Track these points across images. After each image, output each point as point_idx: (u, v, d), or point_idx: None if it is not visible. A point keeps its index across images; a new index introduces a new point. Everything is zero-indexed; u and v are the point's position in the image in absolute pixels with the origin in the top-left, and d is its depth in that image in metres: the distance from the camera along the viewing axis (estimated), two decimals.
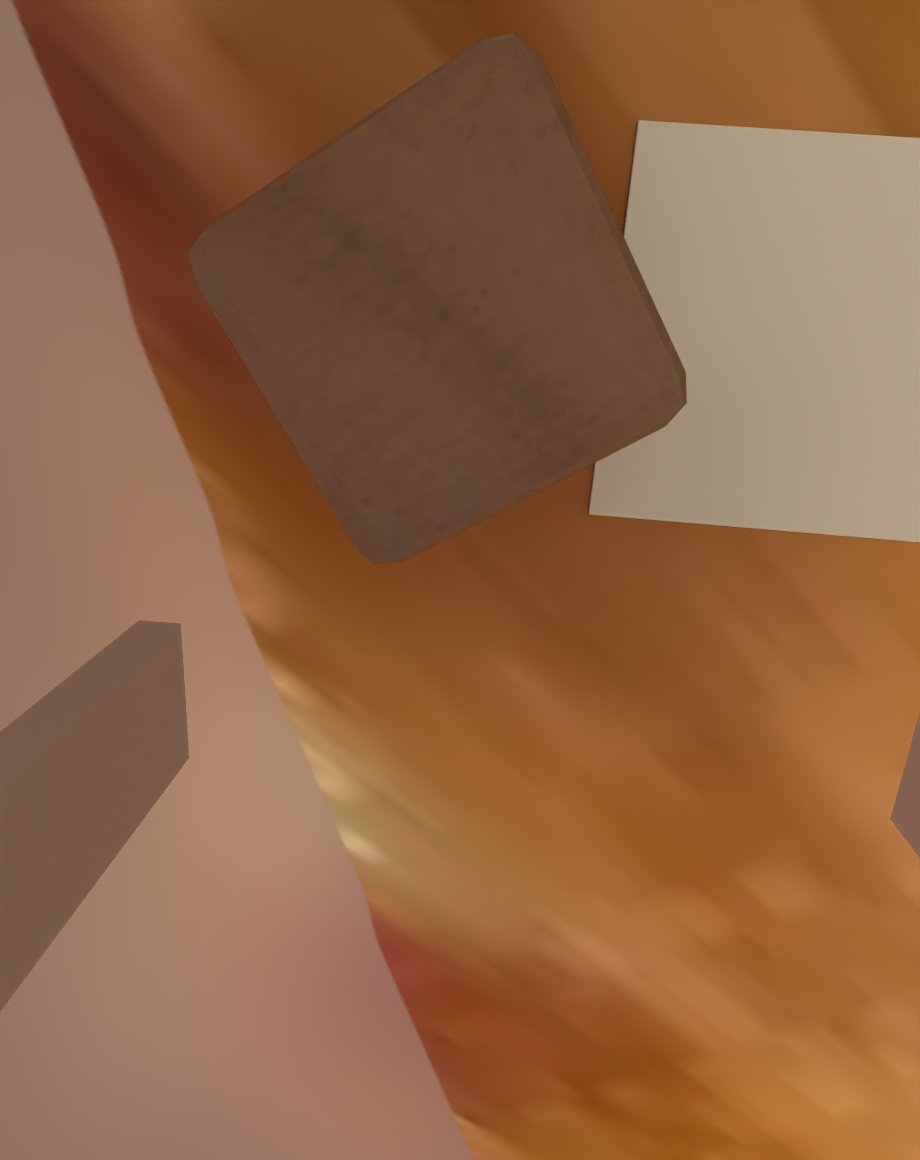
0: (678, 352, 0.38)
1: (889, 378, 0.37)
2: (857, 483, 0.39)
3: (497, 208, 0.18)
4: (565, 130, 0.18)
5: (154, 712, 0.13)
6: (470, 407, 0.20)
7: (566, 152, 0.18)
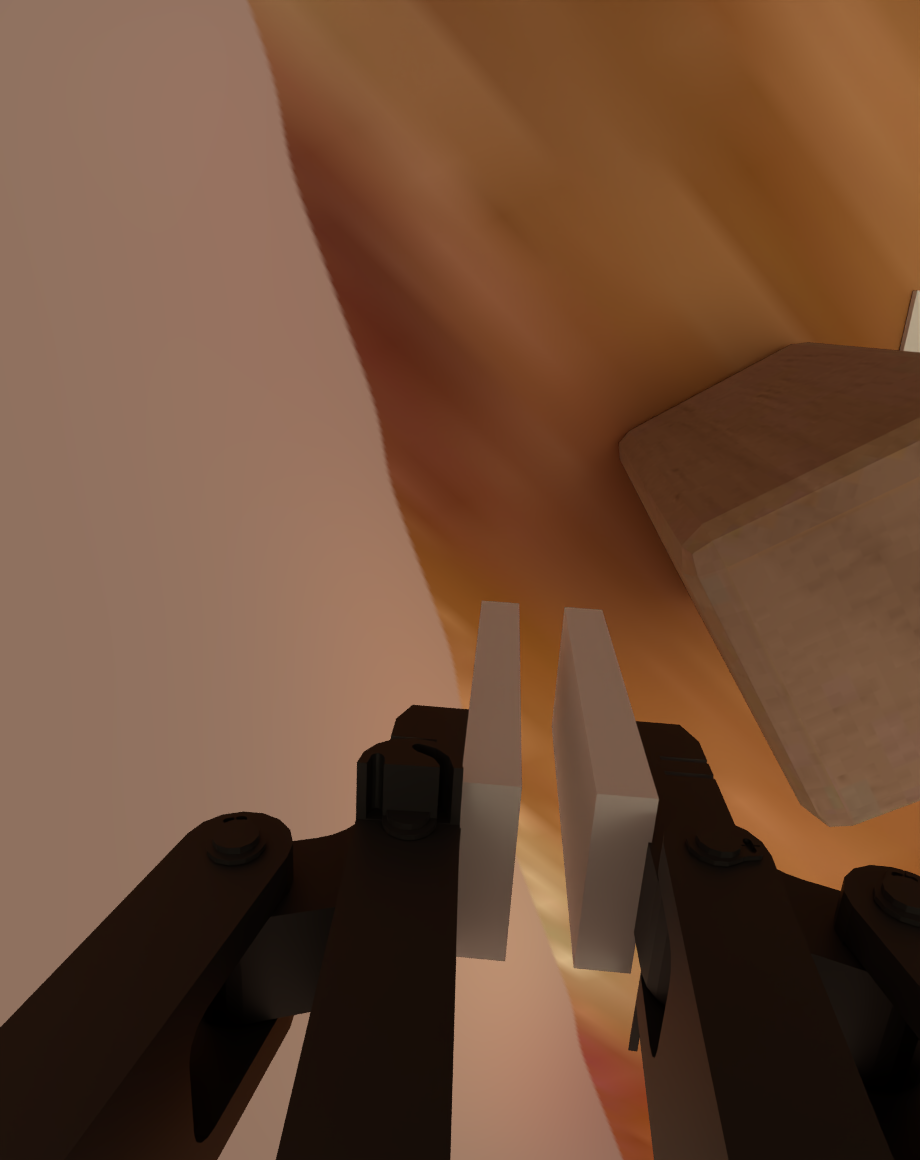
0: None
1: None
2: None
3: None
4: None
5: None
6: None
7: None
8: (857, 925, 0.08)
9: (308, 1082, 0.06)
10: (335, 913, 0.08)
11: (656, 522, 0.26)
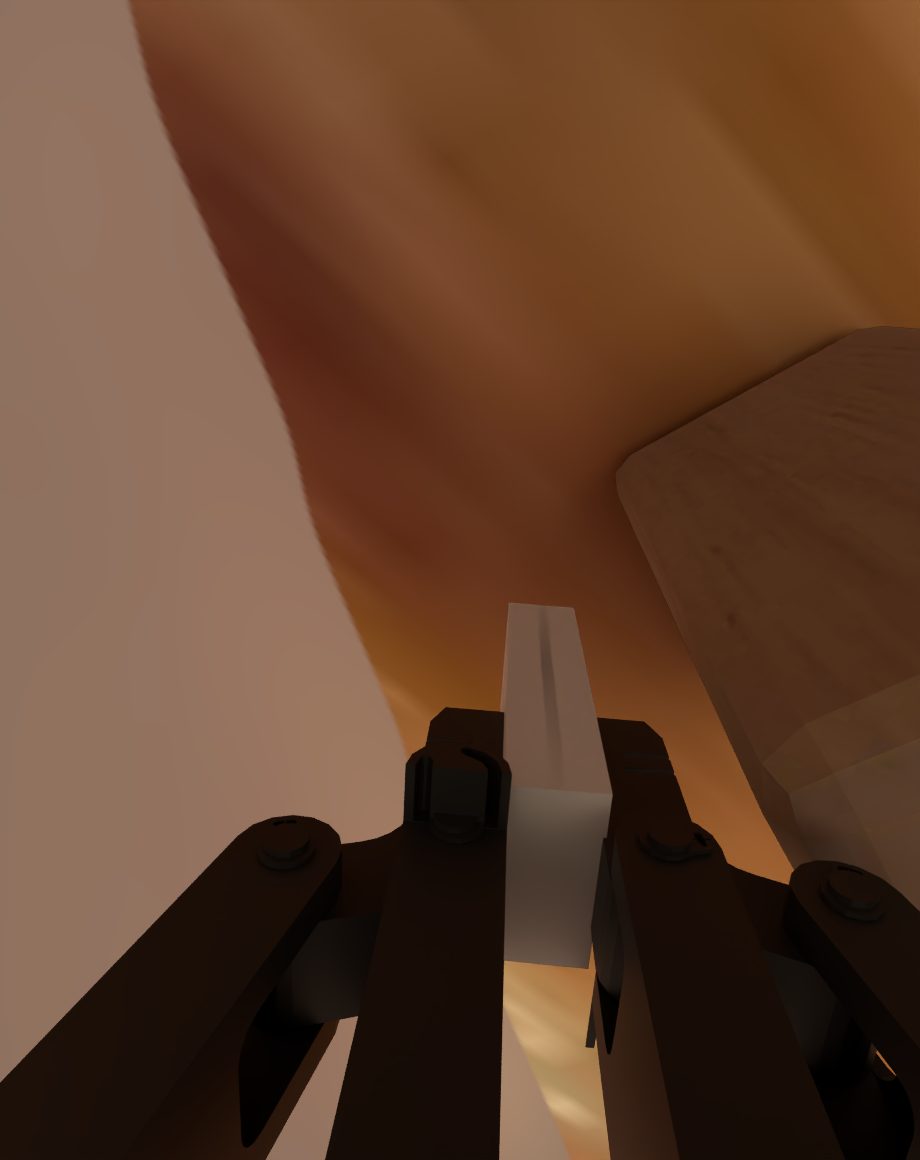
0: None
1: None
2: None
3: None
4: None
5: None
6: None
7: None
8: (804, 922, 0.08)
9: (357, 1083, 0.06)
10: (383, 916, 0.08)
11: (688, 646, 0.15)
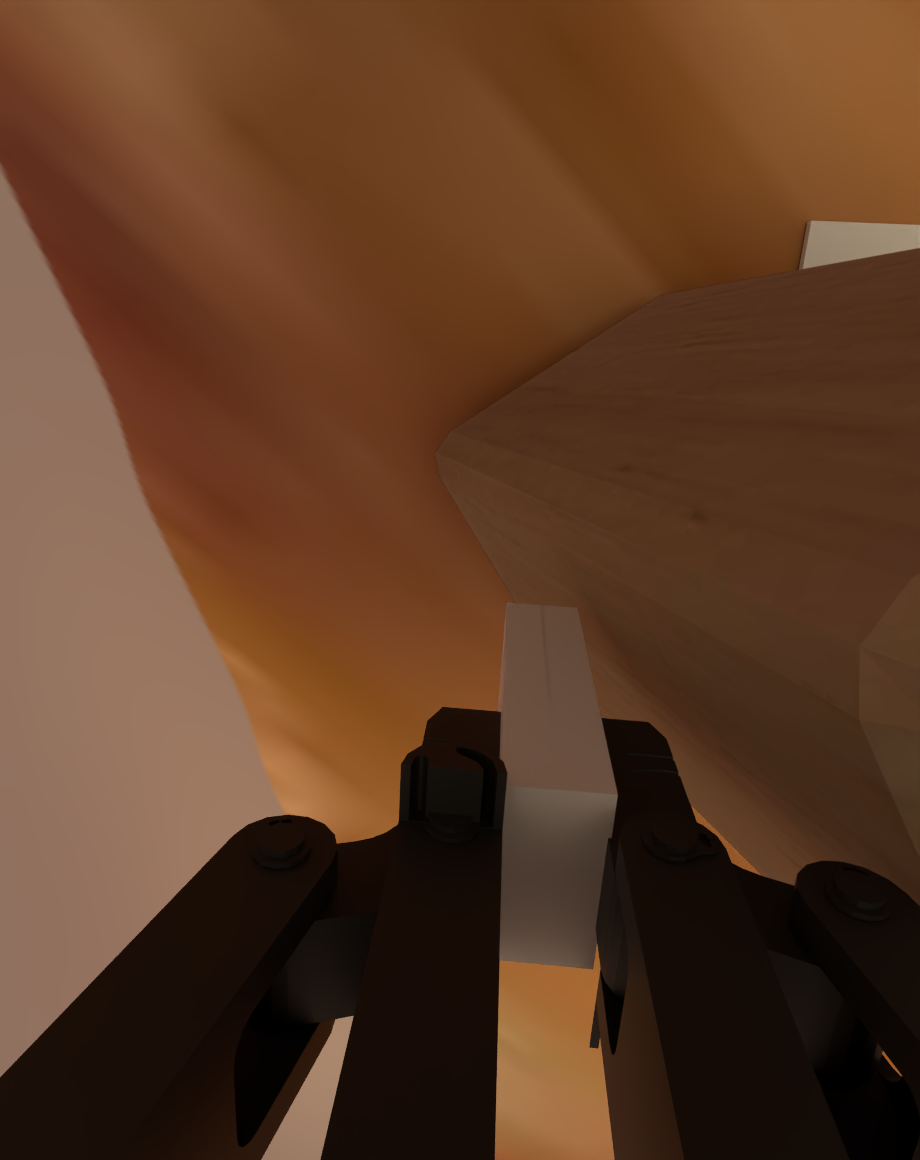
0: None
1: None
2: None
3: None
4: None
5: None
6: None
7: None
8: (810, 922, 0.08)
9: (352, 1083, 0.06)
10: (378, 916, 0.08)
11: (623, 576, 0.12)
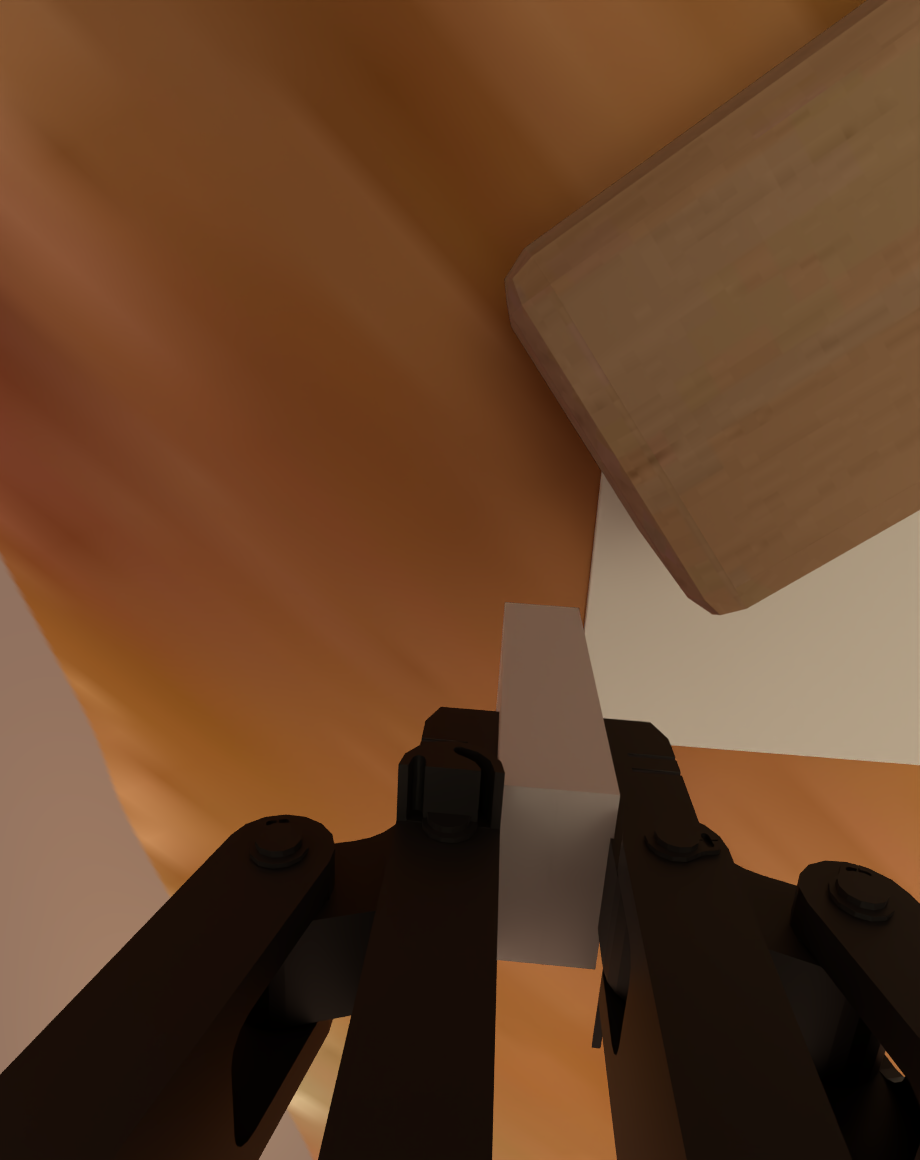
0: None
1: None
2: None
3: None
4: None
5: None
6: None
7: None
8: (812, 922, 0.08)
9: (349, 1083, 0.06)
10: (376, 914, 0.08)
11: None
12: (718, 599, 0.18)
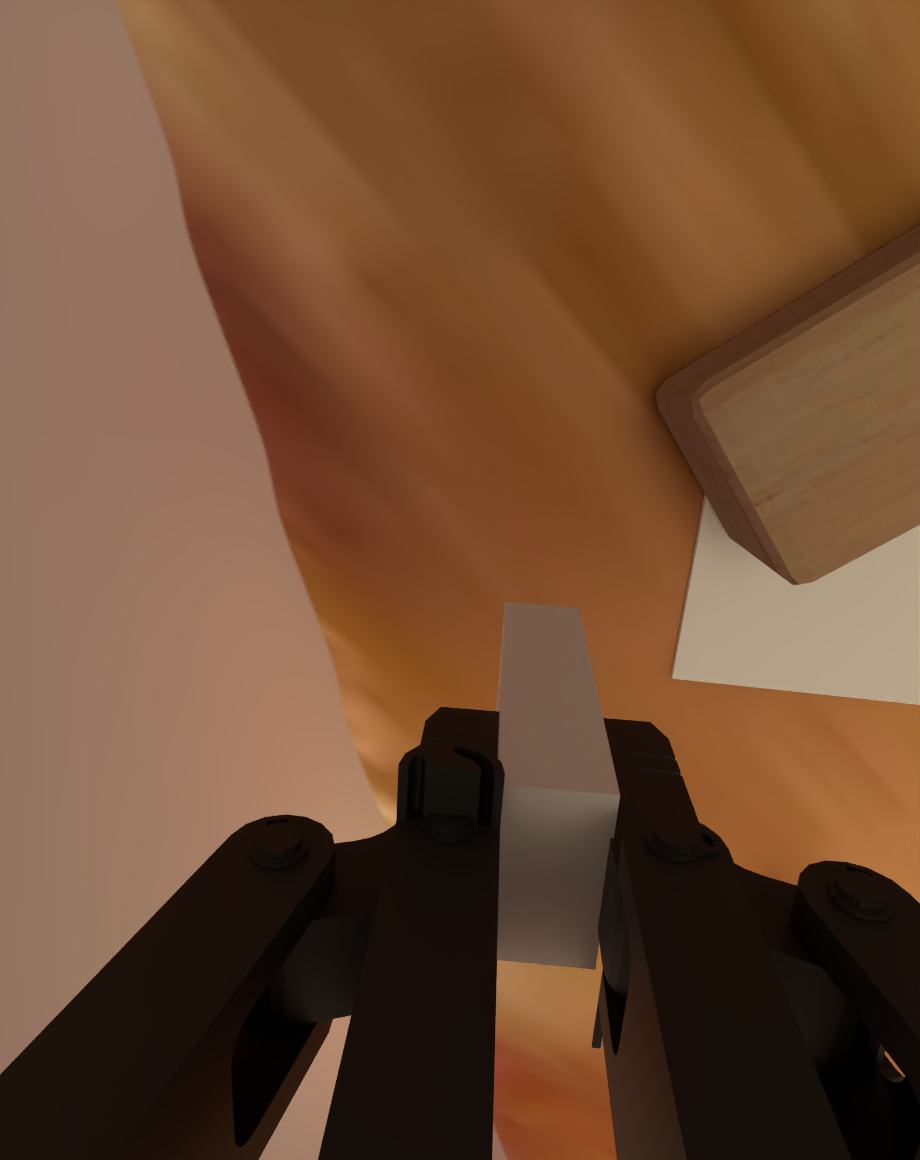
0: None
1: None
2: (908, 659, 0.45)
3: None
4: None
5: None
6: None
7: None
8: (813, 922, 0.08)
9: (350, 1083, 0.06)
10: (376, 915, 0.08)
11: None
12: (799, 575, 0.33)
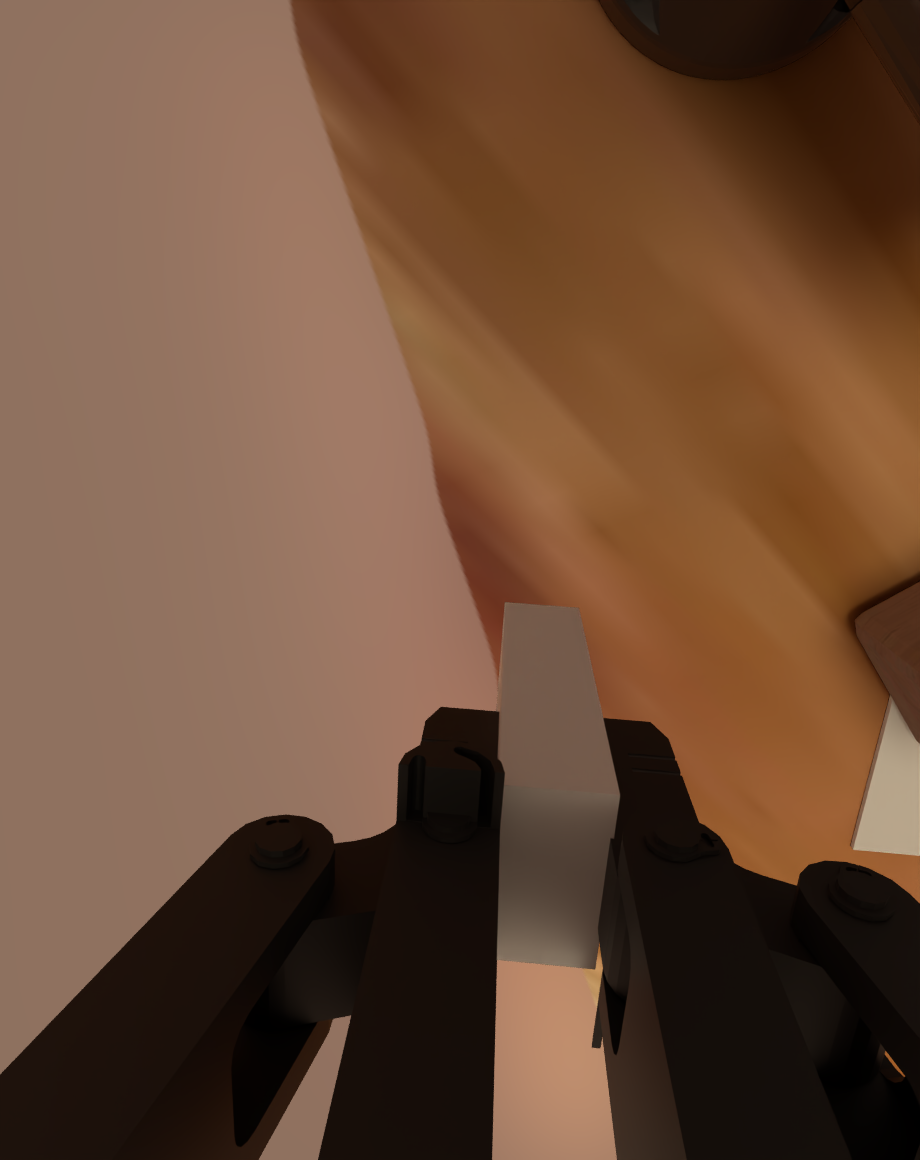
0: None
1: None
2: None
3: None
4: None
5: None
6: None
7: None
8: (812, 922, 0.08)
9: (350, 1083, 0.06)
10: (377, 916, 0.08)
11: None
12: None
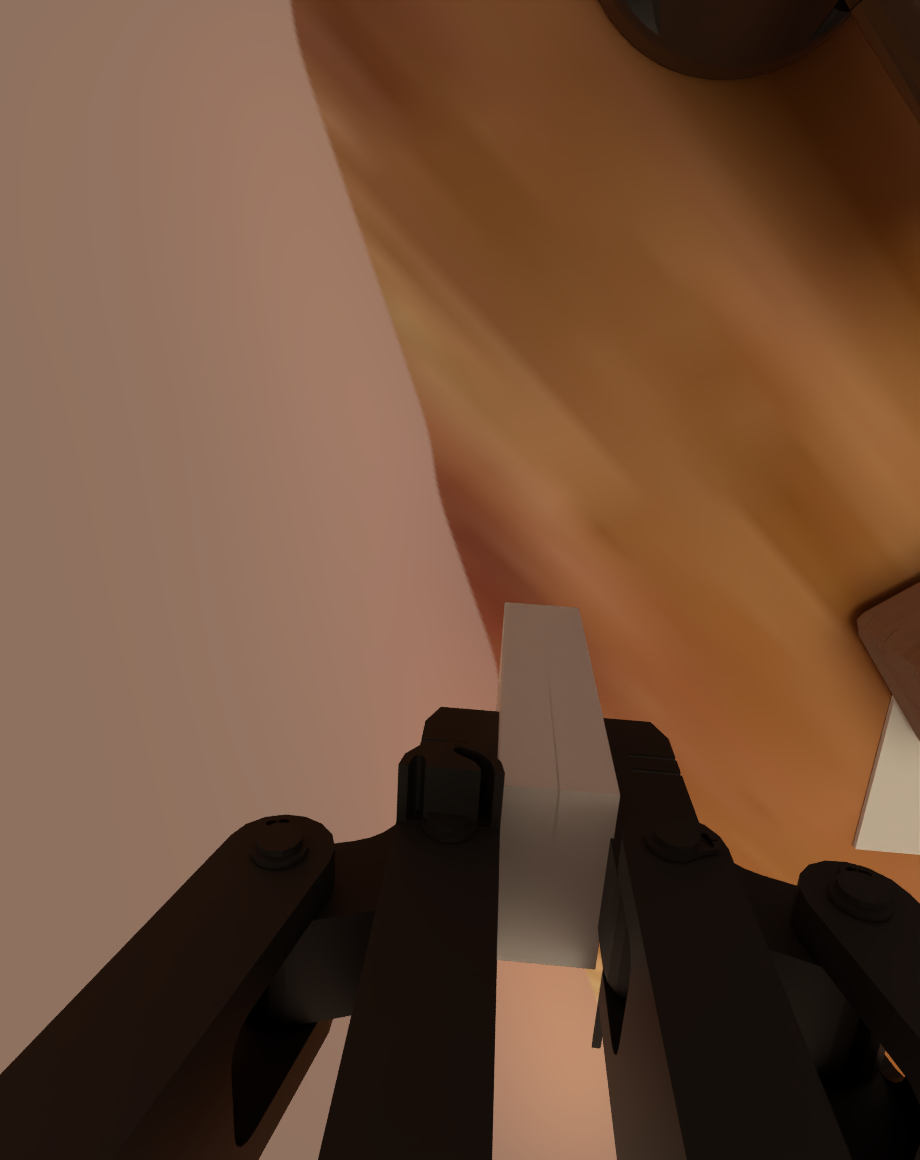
0: None
1: None
2: None
3: None
4: None
5: None
6: None
7: None
8: (812, 922, 0.08)
9: (349, 1083, 0.06)
10: (376, 916, 0.08)
11: None
12: None
